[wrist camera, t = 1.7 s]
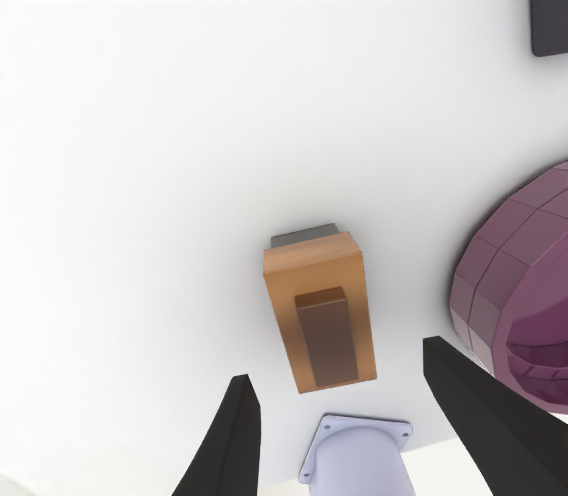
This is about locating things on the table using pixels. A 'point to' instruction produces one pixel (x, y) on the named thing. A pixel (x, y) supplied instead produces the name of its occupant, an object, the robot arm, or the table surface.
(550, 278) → the bowl
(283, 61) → the table surface
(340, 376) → the scrub brush
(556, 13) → the calculator
